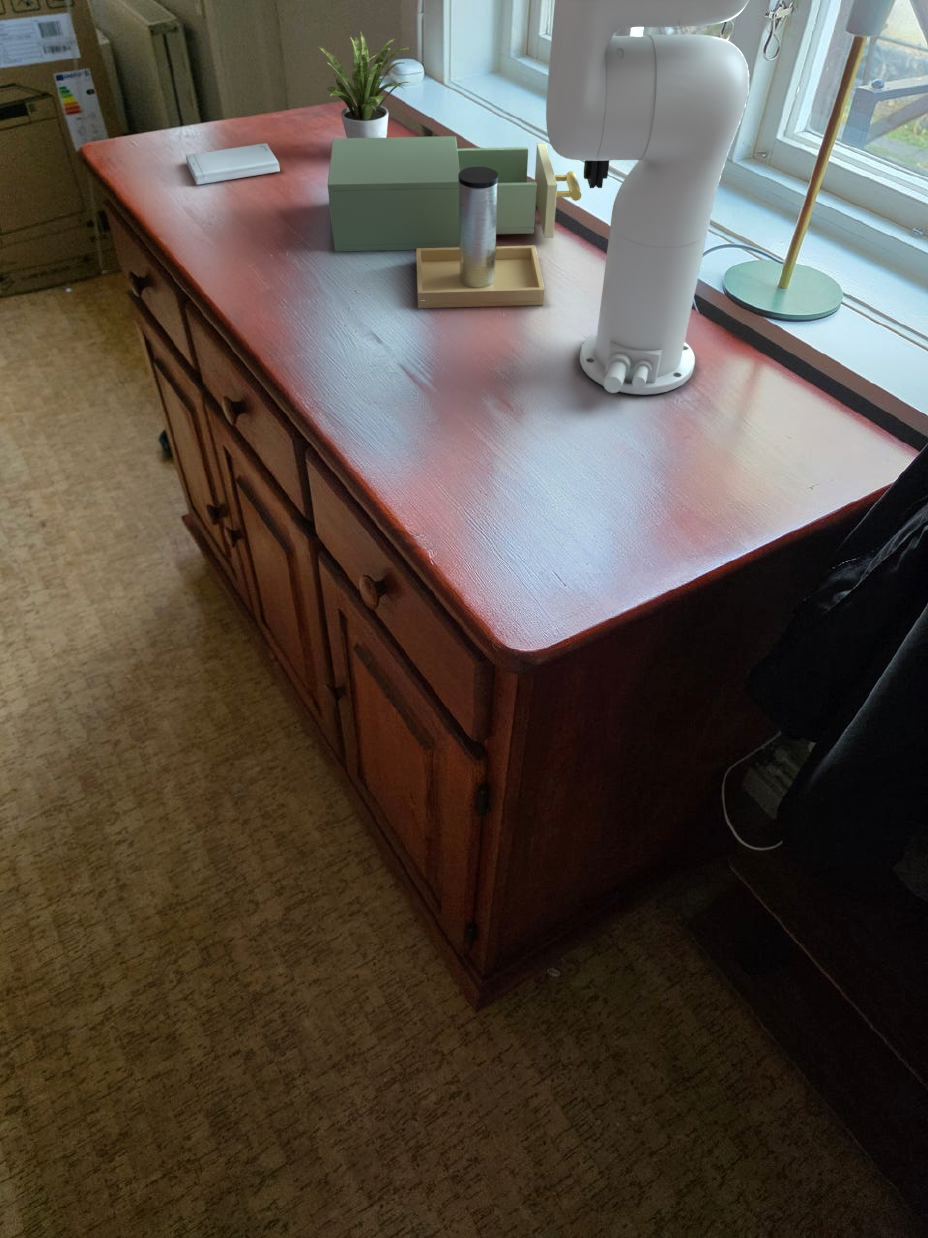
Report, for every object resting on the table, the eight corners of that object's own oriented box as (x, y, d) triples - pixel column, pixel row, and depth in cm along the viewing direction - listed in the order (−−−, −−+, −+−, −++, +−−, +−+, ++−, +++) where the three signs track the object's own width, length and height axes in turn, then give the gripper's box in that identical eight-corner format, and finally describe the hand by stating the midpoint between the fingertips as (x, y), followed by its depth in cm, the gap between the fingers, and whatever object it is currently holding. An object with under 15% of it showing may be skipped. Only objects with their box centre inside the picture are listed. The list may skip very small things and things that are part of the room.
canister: (489, 290, 109) (492, 185, 99) (454, 285, 110) (453, 180, 100) (499, 273, 112) (503, 168, 102) (465, 267, 112) (465, 164, 103)
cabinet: (456, 200, 127) (455, 135, 120) (461, 248, 117) (461, 181, 110) (339, 202, 126) (332, 137, 120) (334, 251, 116) (327, 184, 110)
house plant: (438, 163, 135) (436, 39, 123) (359, 185, 130) (348, 58, 117) (389, 133, 143) (383, 14, 130) (313, 152, 138) (298, 30, 125)
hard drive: (266, 141, 136) (184, 153, 133) (278, 161, 131) (194, 174, 128) (267, 152, 138) (187, 164, 135) (280, 173, 133) (197, 186, 130)
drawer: (569, 192, 126) (574, 142, 121) (582, 237, 117) (588, 184, 112) (433, 196, 125) (431, 144, 120) (435, 240, 117) (434, 187, 111)
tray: (534, 260, 115) (535, 245, 113) (543, 304, 107) (544, 289, 106) (416, 263, 114) (416, 247, 113) (418, 308, 107) (417, 292, 105)
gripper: (552, 35, 102) (541, 197, 116) (680, 33, 103) (655, 195, 117) (545, 15, 107) (536, 172, 121) (668, 13, 108) (644, 170, 121)
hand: (594, 183), depth 119 cm, fingers closed
